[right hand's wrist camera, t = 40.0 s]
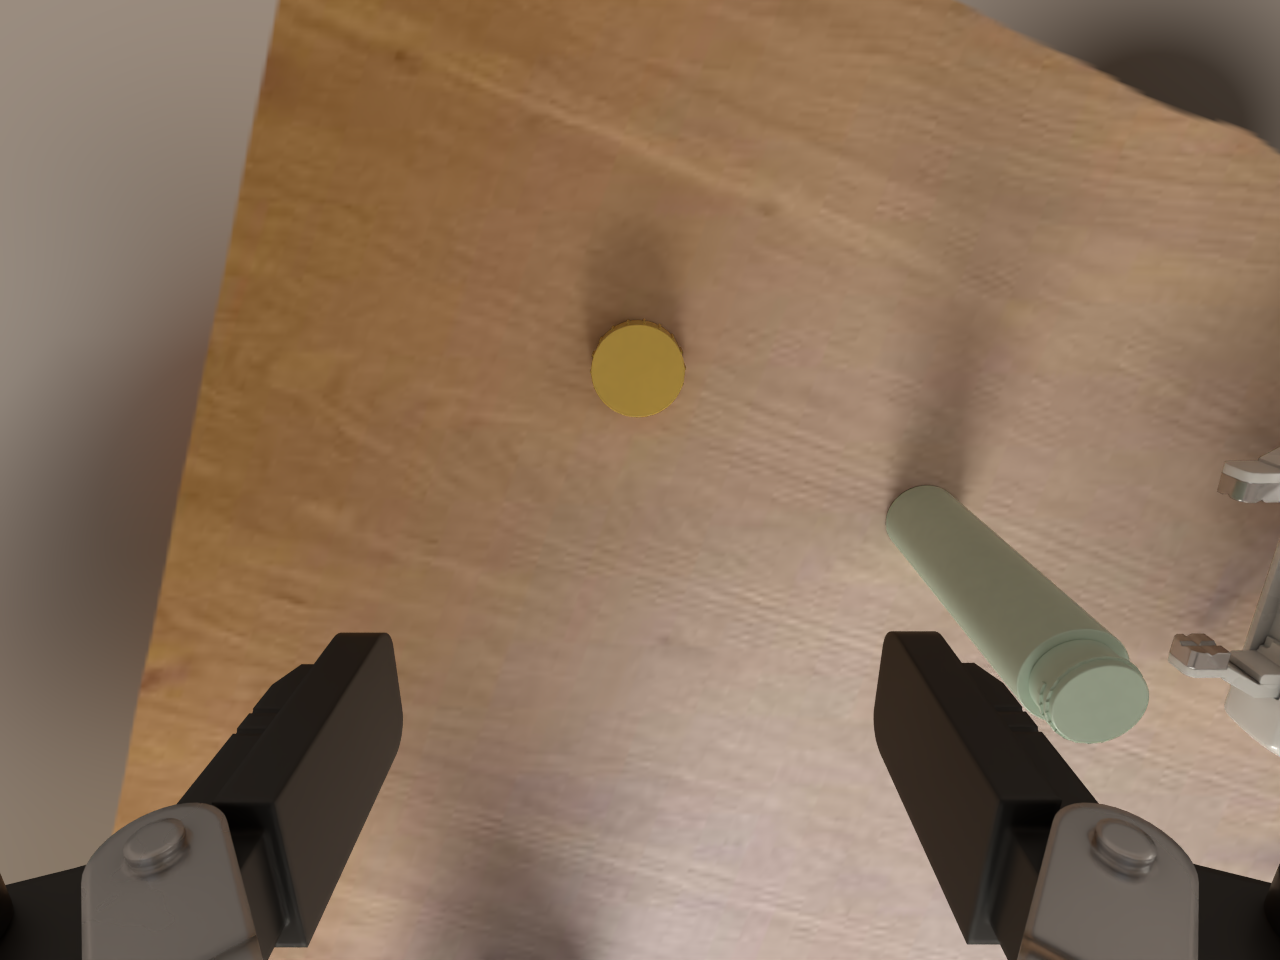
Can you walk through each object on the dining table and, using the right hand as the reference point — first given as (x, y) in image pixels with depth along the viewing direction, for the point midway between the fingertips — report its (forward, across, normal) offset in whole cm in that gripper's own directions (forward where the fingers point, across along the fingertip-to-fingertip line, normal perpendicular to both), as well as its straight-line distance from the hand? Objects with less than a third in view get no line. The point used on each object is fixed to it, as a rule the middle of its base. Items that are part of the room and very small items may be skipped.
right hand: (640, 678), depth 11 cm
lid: (+26, 0, 0) cm, 26 cm away
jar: (+27, +16, -9) cm, 33 cm away
